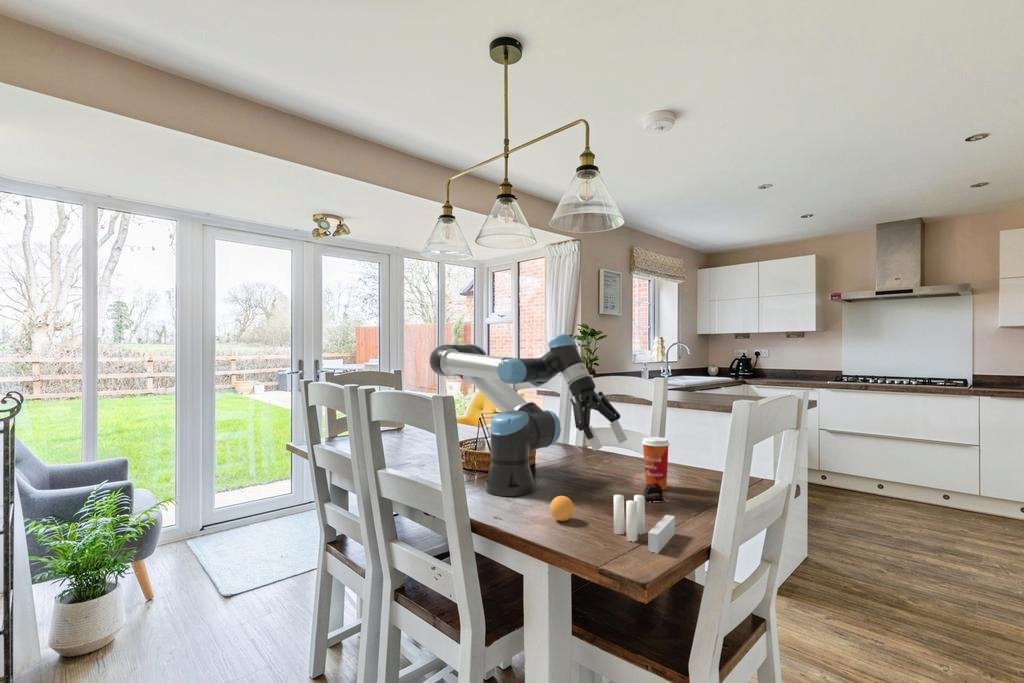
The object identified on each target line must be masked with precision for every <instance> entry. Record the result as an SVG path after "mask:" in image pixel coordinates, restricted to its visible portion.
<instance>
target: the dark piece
mask: <svg viewBox="0 0 1024 683" xmlns="http://www.w3.org/2000/svg"><path fill="white" fill-rule="evenodd" d="M643 492H644V497H645V501H646V502H649V501H651V503H654V502H653V501H666V500H665V499H664V498H663V497H664V496H663V494H664V490H662V489H661V486H659V485H658V484H653V486H652V485H651V484H647V485H646V484H645V487H644V491H643ZM654 494H656V495H654Z"/></svg>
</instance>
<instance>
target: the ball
mask: <svg viewBox="0 0 1024 683" xmlns="http://www.w3.org/2000/svg"><path fill="white" fill-rule="evenodd" d="M549 510H550V514H551V516H552V517H553V518H554V519H555V520H556V521H559V522H565V521H568V520H570V519H571V518H572V517H573V515H574V513H575V506H574V503H573V501H572V500H571V499H570V498H569V497H568V496H564V495H559V496H556V497H554V498H553V499H552V501H551V502H550V505H549Z"/></svg>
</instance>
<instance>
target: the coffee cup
mask: <svg viewBox="0 0 1024 683" xmlns="http://www.w3.org/2000/svg"><path fill="white" fill-rule="evenodd" d="M641 444H642V447H643V448H642V449H643V451H642V452H643V462H644V463H643V464H644V466H643V467H644V476H645V477H644V478H645V486H646V485H647V484H651V485H652V486H653V484H658V485H659V486H661V489H662V490H663V491H665V490H667V483H668V480H667V479H668V461H669V446H670V442H669V440H668V438H665V437H657V436H649V437H644V438H643V440H642V442H641ZM664 489H665V490H664Z"/></svg>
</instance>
